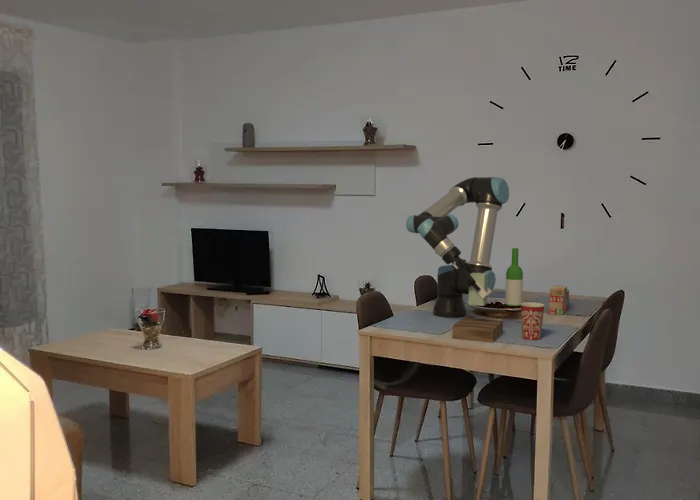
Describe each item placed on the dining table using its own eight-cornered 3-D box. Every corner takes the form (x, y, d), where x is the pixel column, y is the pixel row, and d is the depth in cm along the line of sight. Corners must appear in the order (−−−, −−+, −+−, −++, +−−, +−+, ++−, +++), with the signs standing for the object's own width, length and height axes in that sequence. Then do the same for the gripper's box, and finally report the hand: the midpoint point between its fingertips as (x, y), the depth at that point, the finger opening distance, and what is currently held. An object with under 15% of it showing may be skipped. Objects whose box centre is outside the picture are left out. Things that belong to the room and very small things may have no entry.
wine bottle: (501, 310, 314) (503, 248, 311) (511, 308, 319) (512, 247, 316) (515, 313, 308) (517, 249, 305) (524, 311, 313) (527, 248, 310)
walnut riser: (463, 329, 273) (464, 317, 273) (502, 333, 267) (502, 320, 266) (452, 338, 257) (452, 325, 256) (493, 342, 250) (493, 329, 250)
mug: (542, 341, 253) (543, 307, 251) (518, 339, 256) (519, 305, 254) (544, 334, 264) (546, 301, 263) (521, 332, 268) (522, 300, 266)
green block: (472, 302, 264) (473, 272, 263) (487, 303, 262) (488, 273, 261) (468, 304, 259) (469, 274, 258) (483, 305, 256) (484, 275, 255)
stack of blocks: (555, 306, 326) (556, 282, 324) (568, 307, 323) (569, 283, 322) (548, 314, 306) (549, 288, 305) (562, 315, 304) (563, 289, 302)
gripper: (447, 255, 273) (485, 297, 268) (434, 260, 256) (474, 304, 251) (460, 243, 271) (499, 285, 266) (448, 247, 253) (489, 292, 248)
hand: (487, 294), depth 258 cm, fingers closed on green block, 6 cm apart
